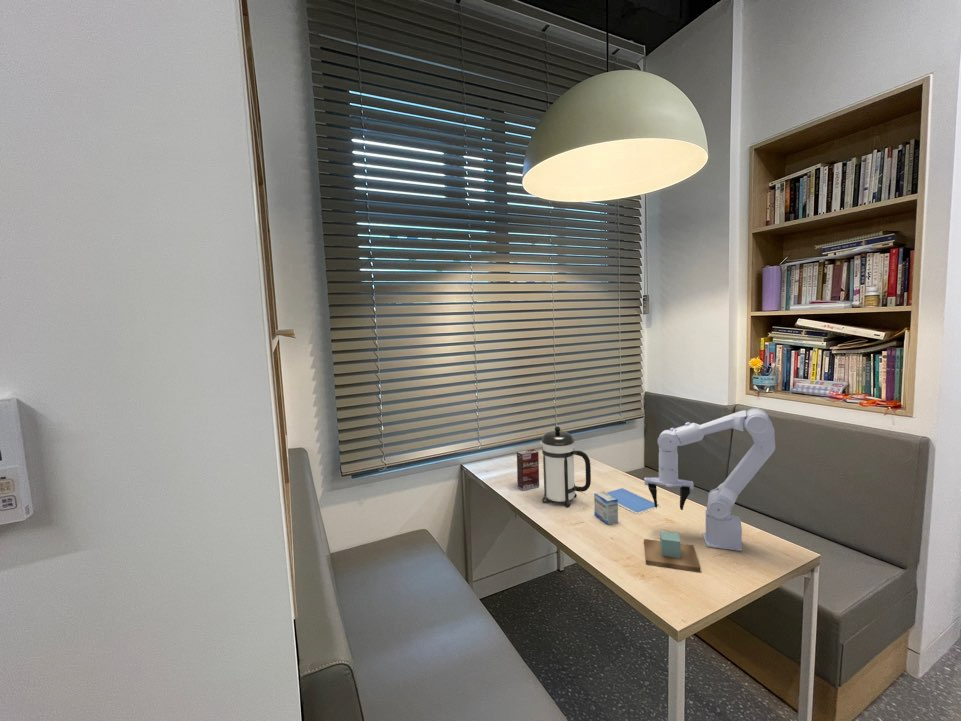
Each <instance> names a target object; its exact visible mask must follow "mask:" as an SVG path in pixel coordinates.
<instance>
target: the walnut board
mask: <svg viewBox="0 0 961 721" xmlns="http://www.w3.org/2000/svg"><path fill="white" fill-rule="evenodd" d="M643 544H644V545H643V546H644V557H645V564H646V565H648V566H649V565H650V566H656V565H657V566H656V567H663V568H671V569H677V570H685V571H691V572H692V571H693V572H696V573H701V566H700V562H699V559H698V556H697V553H696V550H695V546H694V544H688V543H681V558H675V557H668V556H662V554H661V547H660V540H657V539H647V538H644V539H643Z"/></svg>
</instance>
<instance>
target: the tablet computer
mask: <svg viewBox="0 0 961 721" xmlns="http://www.w3.org/2000/svg"><path fill="white" fill-rule="evenodd" d="M606 493H607V494H609V495H611V496H613V497H614V498H616V499H618V507H622V508H623V509H625V510H628V511H629V510H630V511H629V512H631V513H632V512H633V513H632V514H634V513H636V514H635V515H637V514H639V513H642V512H645V511H648V510H651V509H653V510H655V509H654V508H656V509H658V508H657V507H659V506H660V504H658V503H657V507H655V505H654V501H651V500H650V499H647V498H645V497H642V496H640V495H638V494H636V493H634V492H632V491H630V490H627V489H625V488H618V489H614V490H611V491H608V492H606ZM660 507H661V506H660ZM660 507H659V508H660ZM651 511H652V510H651ZM648 512H649V511H648ZM645 513H646V512H645ZM642 514H643V513H642ZM639 515H640V514H639Z"/></svg>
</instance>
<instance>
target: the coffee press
mask: <svg viewBox="0 0 961 721" xmlns="http://www.w3.org/2000/svg"><path fill="white" fill-rule="evenodd" d="M574 443H575V438H574V437H573V435H572V434H571V433H569V432H567V431H563V430H561V427H560V426H555V427H554V431H553V430H552V431H549V432H546V433H544V434H543V436H542V438H541V441H539V443H538V445H540V446H541V445H542V448H541V449H542V450H541V451H542V452H541V453H542V462H543V463H542V466H543V493H544V494H543V497H542V499H541V501H542V503H543V504H547V502H548V501H549V500H550V501H553V502H558V503H559V502H560V503H561V502H563V503H564V506H565V508H569V507H571V504H570V501H571V500H572V499H575V498H577V497H578V495H577V493H576V492H578V493H579V492H586V491H588V490H589V488H590V486H591V482H592V476H591V475H592V473H591V472H592V471H591V469H592V468H591V461H590V457H589V456H588V455H587V453H585V452H584V451H583V450H575V446H574ZM575 456H579V457H581V458H582V460H584V465H585V485H583V486H578V485H576V484H575Z"/></svg>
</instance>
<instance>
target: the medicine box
mask: <svg viewBox="0 0 961 721" xmlns="http://www.w3.org/2000/svg"><path fill="white" fill-rule="evenodd" d="M593 499H594V502H593V503H594V504H593V505H594V507H593V508H594V512H593V513H594V514H593V515H594V516H595V517H596V518H597V517H598V518H597V519H599V520H600V519H601V520H600V521H602V522H603V521H604V522H603V523H605V524H606V523H607V525H614V524H618V523H619V505H618V499H616V498H614V497H613V496H611V495H609V494H607V492H605V491H604V490H602V491H598V492H594V496H593ZM613 523H614V524H613Z"/></svg>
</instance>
